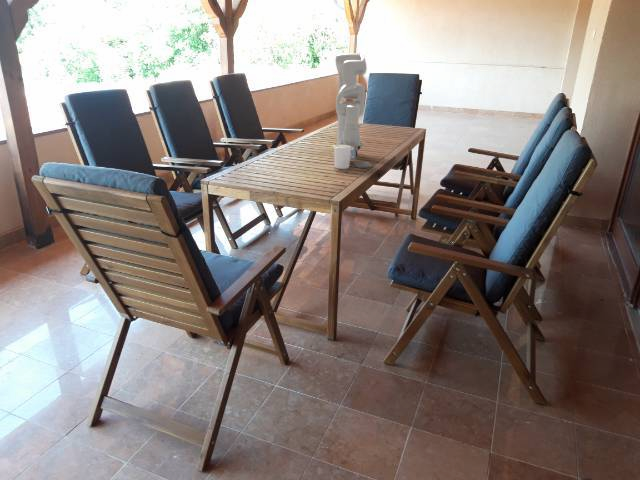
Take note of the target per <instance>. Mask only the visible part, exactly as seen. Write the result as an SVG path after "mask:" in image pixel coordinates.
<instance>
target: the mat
mask: <svg viewBox="0 0 640 480" xmlns="http://www.w3.org/2000/svg"><path fill="white" fill-rule="evenodd" d="M352 165H354V167H356V168H358V169H359V168H360V169H361V168H363V169H365V168H373V167H374V166H373V165H372V164H371V163H370V162H367V161H366V162H365V161H362V162H361V161H360V162H353V163H352Z"/></svg>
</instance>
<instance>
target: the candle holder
mask: <svg viewBox="0 0 640 480" xmlns="http://www.w3.org/2000/svg"><path fill="white" fill-rule="evenodd" d="M333 153H334V154H333V155H334V156H333V157H334V159H333V160H334V161H333V162H334V168H335V169H339V170H346V169H349V167H350V164H351V162H350V161H351V159H350V153H351V146H349V145H337V144H335V145H334V146H333Z"/></svg>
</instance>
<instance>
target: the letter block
mask: <svg viewBox="0 0 640 480" xmlns="http://www.w3.org/2000/svg"><path fill="white" fill-rule="evenodd" d="M356 158H357V156H356V150H355V148H353V149H351V153H350V160H356Z"/></svg>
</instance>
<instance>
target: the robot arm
mask: <svg viewBox="0 0 640 480" xmlns="http://www.w3.org/2000/svg"><path fill="white" fill-rule="evenodd" d="M335 67H336V70H337V73H338V83H339V85H338V87H339V88H338V91H337V94H336V97H335V111H336V115H337V141H336V142H337V144H336V145H349V146H351V149H355V150H356V157H357V156H358V151H360V149H361V148H362V147H364V144H363V142H362V141H361V135H360V127H361V124H359V118H360V117H363V116H364V114H365V87H364V85H363V84H362V83H358V81H357V80H358V79H357V78H358V77H357V76H364V75H366V73H367V68H368V67H367V61H366V57H365V55H364V54H363V53H360V52H359V53H358V52H357V53H354V52H352V53H351V52H350V53H349V52H345V53H343V52H342V53H338V54H336V56H335ZM341 99H343V100H342V101H341ZM344 100H346V101H344ZM352 100H353V101H352ZM354 100H356V101H354ZM353 147H354V148H353Z"/></svg>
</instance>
